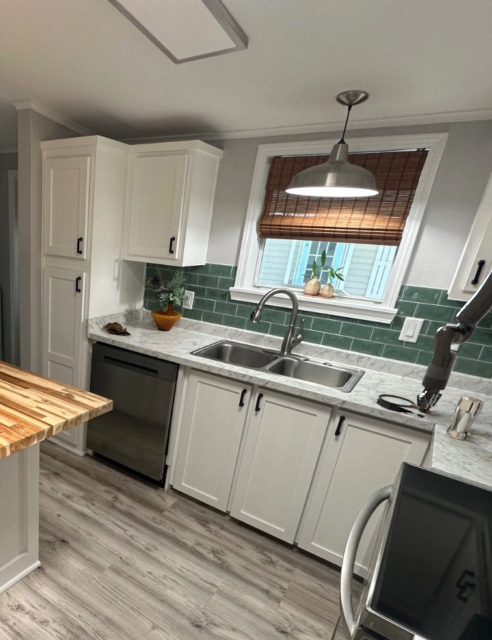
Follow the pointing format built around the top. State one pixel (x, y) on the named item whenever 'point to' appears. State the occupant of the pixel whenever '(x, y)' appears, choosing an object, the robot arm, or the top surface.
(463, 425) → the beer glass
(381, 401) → the frying pan
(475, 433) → the top surface
